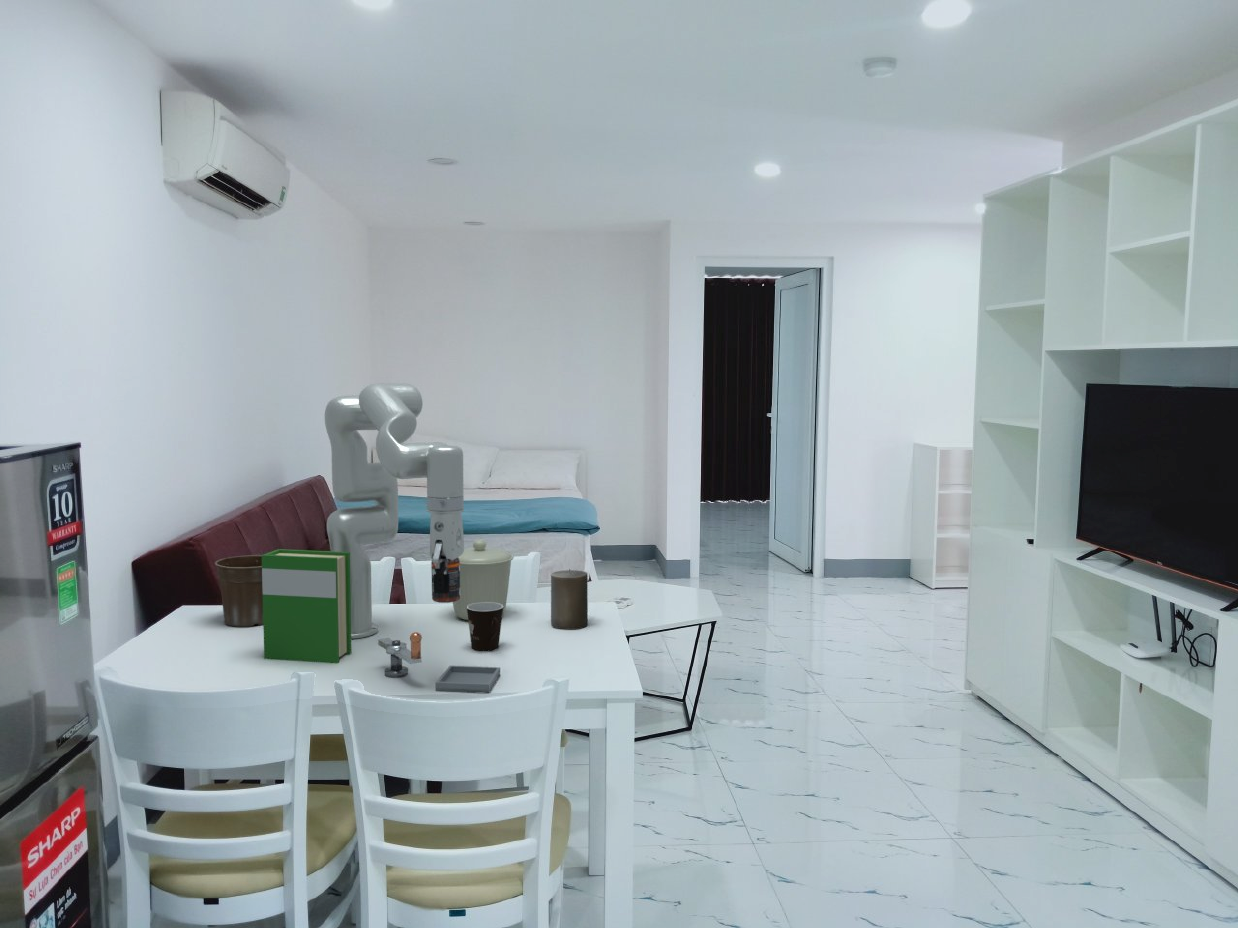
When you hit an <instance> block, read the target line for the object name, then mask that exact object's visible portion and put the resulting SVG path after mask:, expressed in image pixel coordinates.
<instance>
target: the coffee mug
mask: <svg viewBox="0 0 1238 928" xmlns="http://www.w3.org/2000/svg"><path fill="white" fill-rule="evenodd" d="M502 613H503V605H502V604H499V603H493V602H480V603H474V604H470V605H468V606H467V614H468V620H467V621H468V629H469V637H470V644H471V645H470V646H471V649H472V651H476V652H481V653H482V652H483V653H484V652H491V651H496V650H498V649H499V646H500V638H501V628H502V621H503V614H504V613H503V614H502Z"/></svg>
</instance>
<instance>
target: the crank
mask: <svg viewBox="0 0 1238 928" xmlns="http://www.w3.org/2000/svg"><path fill="white" fill-rule="evenodd" d="M422 639H423V638H422V635H421V633H420V632H417V631H415V632H412V633H411V634H410V635H409V641H410V649H408V648H407V646H408V645H407V643H406V642H403V641H401V640H400V639H399V640H398V639H395V640H394V639H391V638H389V637H385V638H379V639H377V641H378V643H377V644H378V646H379V647H381V648H383V649H384V650H385V653H386V654H387V655H390V656H391V655H396V656H398V657H399V658H401V659H402V661H404V662H407V663H408V664H409V665H415V664H419V663H422V650H421V649H422V648H421V647H422V646H421V645H422Z"/></svg>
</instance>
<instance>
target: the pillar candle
mask: <svg viewBox="0 0 1238 928" xmlns="http://www.w3.org/2000/svg"><path fill="white" fill-rule="evenodd" d="M588 575H589V574H588V572H587V571H583V570H577V569H576V570H575V569H573V570H572V569H570V568H568V569H566V570H557V571H553V572H552V573H550V625H551V626H552V628H555V629H560V630H578V629H582V628H586V627H587V626H588V624H589V622H588V621H589V620H588V618H589V617H588V616H589V615H588V614H589V613H588V612H589V610H588V609H589V608H588V607H589V606H588V605H589V604H588V595H589V594H588V590H589V589H588V588H589V587H588V582H589V581H588V577H589V576H588Z"/></svg>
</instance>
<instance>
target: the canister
mask: <svg viewBox="0 0 1238 928" xmlns="http://www.w3.org/2000/svg"><path fill="white" fill-rule="evenodd" d="M514 557H515V556H514V555H513V554H512V553H510V552H508V551H507V550H506V549H503V548H498V547H497V548H496V547H489V546H488V547H487V541H485V540H484V539H481V538H480V539H476V540H474V541H473V543H472V547H467V548H465V547H464V552H463V554H462V555H460V556H459V557H458V558H459V560H460V599H459V600H457V601H455V602H452V607H453V610H454V613H455V614H456V616H457V617H458V618H459V619H461V620H464V621H468V614H467V606H468V605H470V604H474V603H480V602H493V603H499V604H502V605H503V613H502V615H503V614H504V612H505V611H506V607H507V600H508V593H509V584H510V574H511V564H512V561H513V560H514Z"/></svg>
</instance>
